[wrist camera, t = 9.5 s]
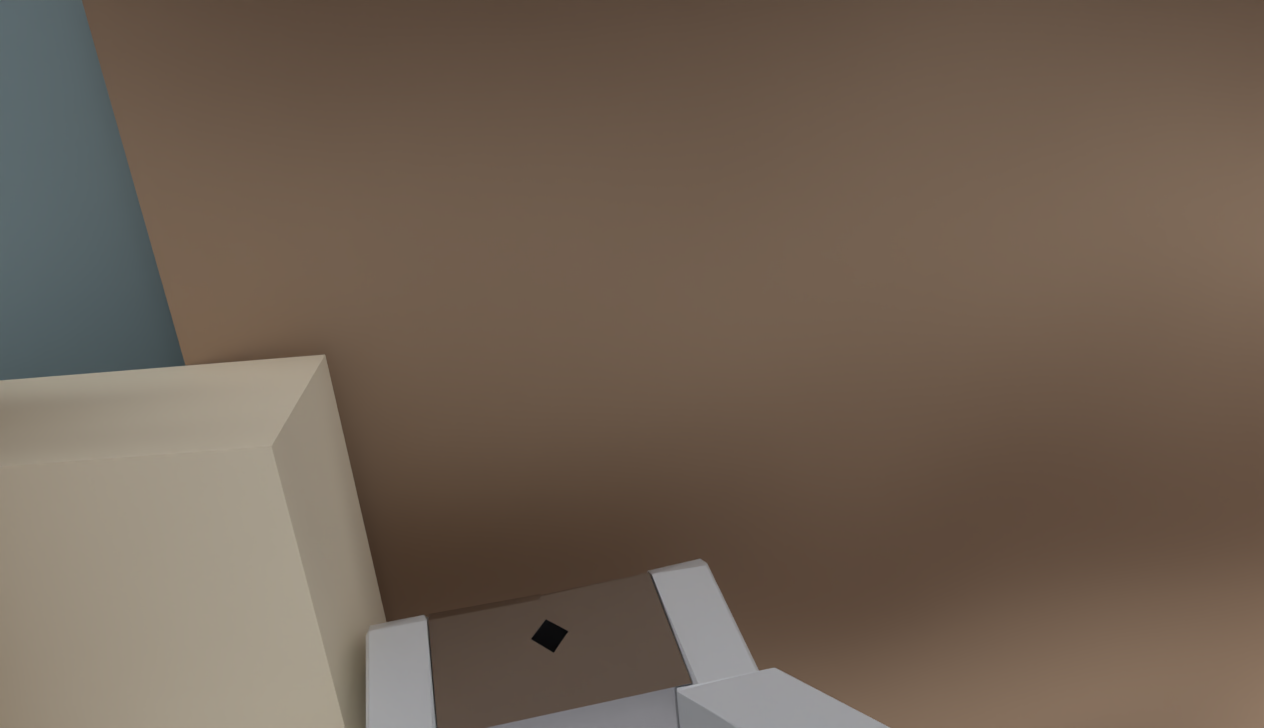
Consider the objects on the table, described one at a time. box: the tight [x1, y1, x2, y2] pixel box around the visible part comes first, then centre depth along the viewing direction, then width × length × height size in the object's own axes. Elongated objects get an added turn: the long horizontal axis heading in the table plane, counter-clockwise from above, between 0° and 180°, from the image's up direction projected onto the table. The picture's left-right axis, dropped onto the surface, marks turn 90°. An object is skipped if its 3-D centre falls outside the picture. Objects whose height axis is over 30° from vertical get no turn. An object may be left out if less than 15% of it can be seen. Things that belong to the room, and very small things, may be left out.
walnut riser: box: [82, 0, 1264, 728], centre depth 13 cm, size 14×16×2 cm
